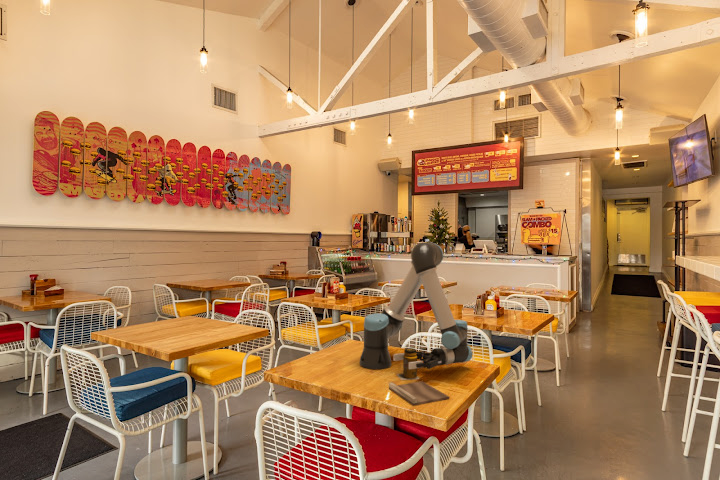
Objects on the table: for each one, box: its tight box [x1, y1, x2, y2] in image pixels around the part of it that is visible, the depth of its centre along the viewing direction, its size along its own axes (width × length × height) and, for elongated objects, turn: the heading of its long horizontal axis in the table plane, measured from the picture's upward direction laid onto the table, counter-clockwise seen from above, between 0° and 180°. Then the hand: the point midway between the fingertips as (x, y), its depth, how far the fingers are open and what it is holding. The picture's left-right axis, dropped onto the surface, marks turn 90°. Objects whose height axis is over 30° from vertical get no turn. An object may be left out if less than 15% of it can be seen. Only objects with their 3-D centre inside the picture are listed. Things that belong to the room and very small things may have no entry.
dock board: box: [388, 380, 450, 406], centre depth 154 cm, size 16×18×2 cm
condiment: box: [396, 347, 421, 381], centre depth 173 cm, size 7×8×12 cm
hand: (401, 361), depth 172 cm, fingers open, 12 cm apart
